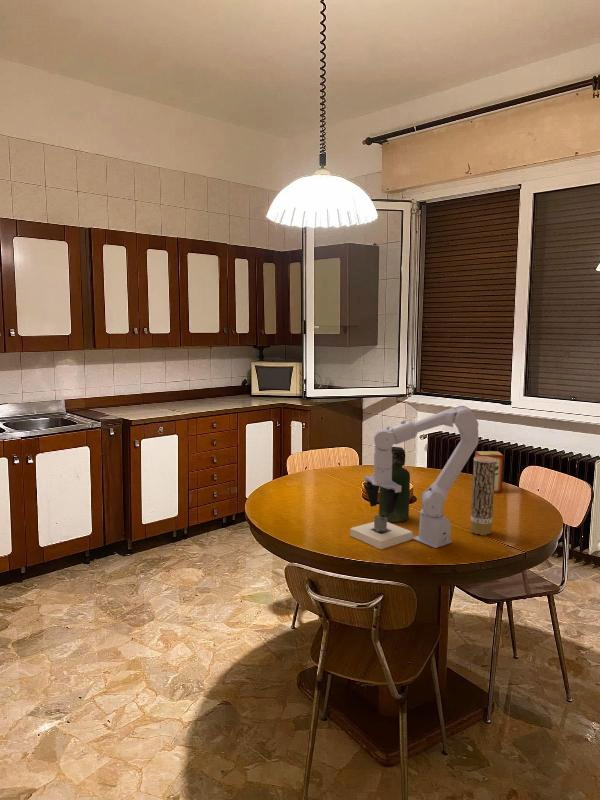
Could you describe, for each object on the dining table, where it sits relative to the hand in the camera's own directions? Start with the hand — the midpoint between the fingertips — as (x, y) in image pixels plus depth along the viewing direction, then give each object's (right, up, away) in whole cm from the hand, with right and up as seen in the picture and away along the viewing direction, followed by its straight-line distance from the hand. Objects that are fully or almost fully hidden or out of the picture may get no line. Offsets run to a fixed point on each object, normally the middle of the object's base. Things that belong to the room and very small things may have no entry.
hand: (381, 509), depth 193 cm
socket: (0, -9, +1) cm, 10 cm away
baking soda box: (+50, -2, +54) cm, 74 cm away
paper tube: (+34, -9, +7) cm, 35 cm away
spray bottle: (+7, -7, +20) cm, 22 cm away
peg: (0, -10, +1) cm, 10 cm away
